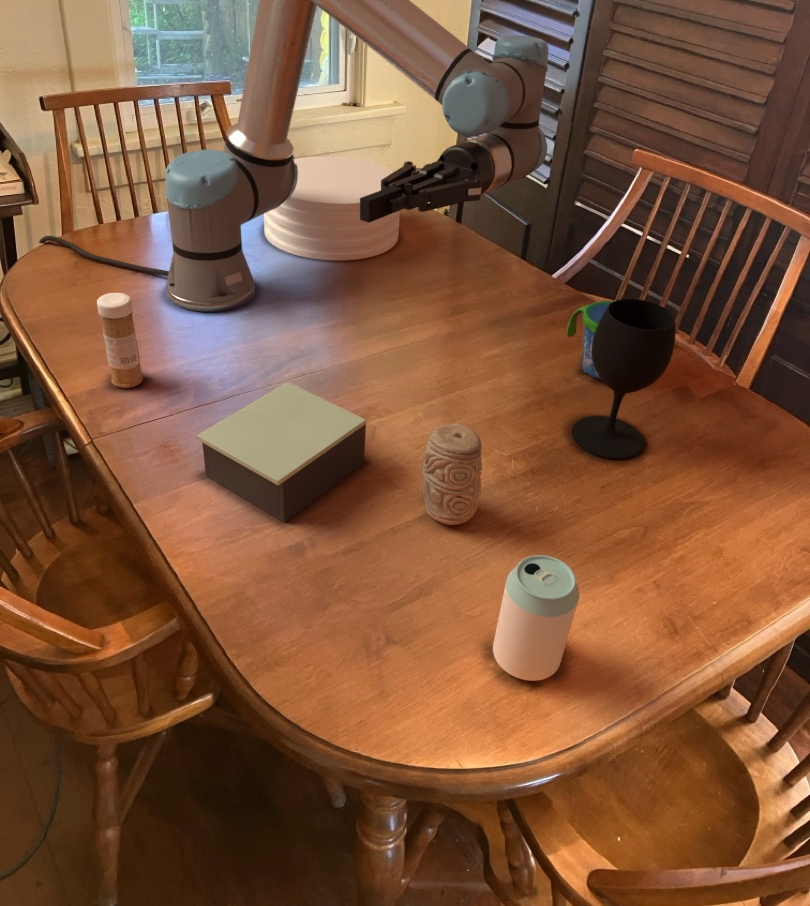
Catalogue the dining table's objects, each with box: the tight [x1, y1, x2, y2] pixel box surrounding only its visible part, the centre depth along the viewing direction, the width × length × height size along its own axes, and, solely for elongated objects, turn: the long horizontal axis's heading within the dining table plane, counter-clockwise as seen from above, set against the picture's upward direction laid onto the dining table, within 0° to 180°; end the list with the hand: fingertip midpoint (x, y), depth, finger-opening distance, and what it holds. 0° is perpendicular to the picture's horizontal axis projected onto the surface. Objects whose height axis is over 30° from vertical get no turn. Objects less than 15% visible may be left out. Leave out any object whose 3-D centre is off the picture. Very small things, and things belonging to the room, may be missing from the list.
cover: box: [196, 381, 367, 485], centre depth 101 cm, size 16×14×1 cm
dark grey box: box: [201, 423, 367, 523], centre depth 103 cm, size 16×14×6 cm
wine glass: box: [571, 298, 677, 461], centre depth 110 cm, size 10×10×20 cm
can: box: [492, 554, 580, 682], centre depth 80 cm, size 7×7×12 cm
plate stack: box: [263, 156, 401, 261], centre depth 165 cm, size 28×28×12 cm
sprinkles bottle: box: [96, 292, 144, 389], centre depth 115 cm, size 5×5×14 cm
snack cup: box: [566, 300, 615, 382], centre depth 128 cm, size 16×10×10 cm
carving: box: [421, 422, 483, 526], centre depth 97 cm, size 6×8×12 cm
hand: (364, 210), depth 98 cm, fingers closed
